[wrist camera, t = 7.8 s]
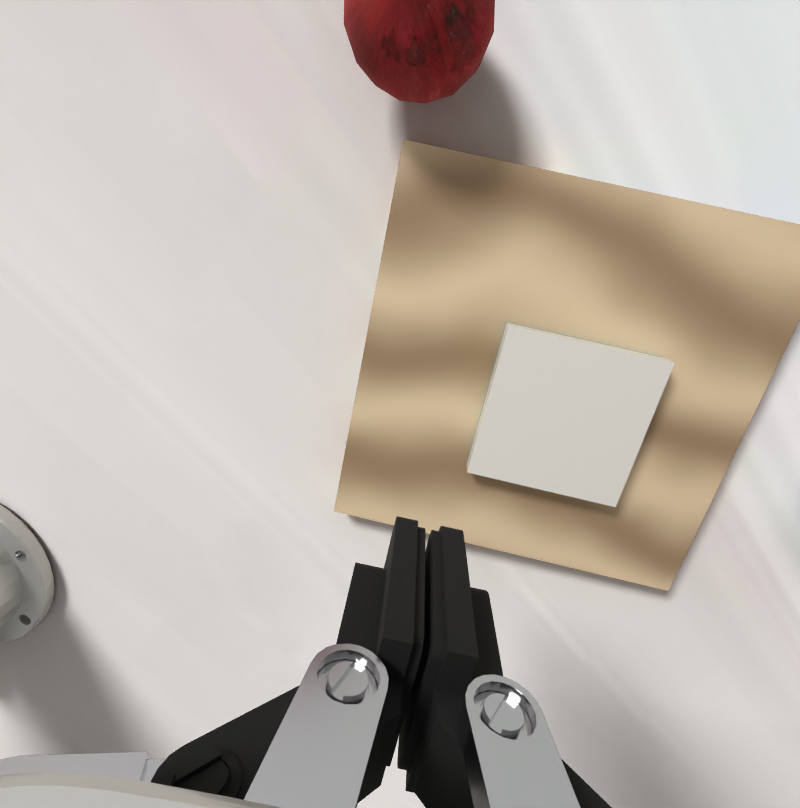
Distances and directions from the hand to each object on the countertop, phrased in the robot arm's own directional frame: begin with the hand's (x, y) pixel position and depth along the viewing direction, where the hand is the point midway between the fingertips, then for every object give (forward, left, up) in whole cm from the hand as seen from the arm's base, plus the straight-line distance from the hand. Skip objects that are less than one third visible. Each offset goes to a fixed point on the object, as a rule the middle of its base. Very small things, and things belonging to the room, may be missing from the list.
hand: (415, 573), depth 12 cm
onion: (+16, +4, -17) cm, 23 cm away
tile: (+1, -3, -14) cm, 14 cm away
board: (+2, -6, -16) cm, 17 cm away
